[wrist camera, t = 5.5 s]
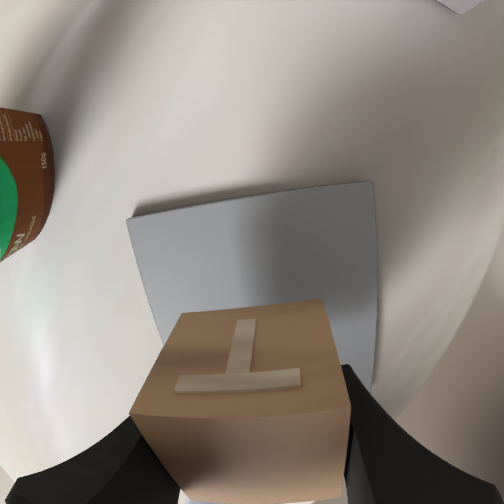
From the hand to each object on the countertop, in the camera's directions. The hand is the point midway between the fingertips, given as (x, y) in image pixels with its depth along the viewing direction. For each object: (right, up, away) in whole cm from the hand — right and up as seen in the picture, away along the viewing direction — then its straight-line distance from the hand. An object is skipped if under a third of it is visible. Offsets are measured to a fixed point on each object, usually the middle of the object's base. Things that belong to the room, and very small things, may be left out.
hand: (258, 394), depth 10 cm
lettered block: (0, +1, +1) cm, 2 cm away
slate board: (0, +2, +5) cm, 5 cm away
